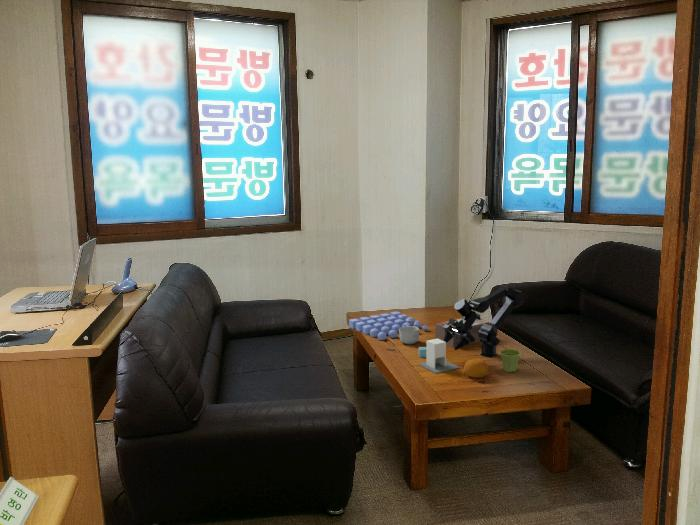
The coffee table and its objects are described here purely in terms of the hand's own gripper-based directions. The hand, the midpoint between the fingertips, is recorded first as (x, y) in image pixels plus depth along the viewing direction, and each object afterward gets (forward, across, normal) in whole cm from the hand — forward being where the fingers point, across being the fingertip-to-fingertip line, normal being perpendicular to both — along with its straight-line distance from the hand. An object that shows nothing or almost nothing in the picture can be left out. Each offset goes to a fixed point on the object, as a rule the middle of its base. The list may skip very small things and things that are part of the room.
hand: (448, 347), depth 282 cm
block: (+9, -16, +3) cm, 19 cm away
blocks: (+2, -65, +11) cm, 66 cm away
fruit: (+6, +19, +6) cm, 21 cm away
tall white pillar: (+11, 0, 0) cm, 11 cm away
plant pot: (-7, +21, +20) cm, 30 cm away
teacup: (+4, -39, +8) cm, 40 cm away
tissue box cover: (-14, -27, +27) cm, 41 cm away
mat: (+10, +1, +2) cm, 10 cm away
